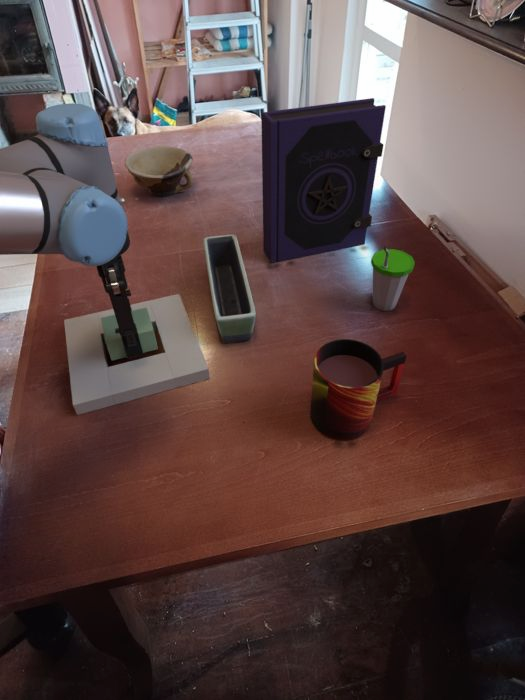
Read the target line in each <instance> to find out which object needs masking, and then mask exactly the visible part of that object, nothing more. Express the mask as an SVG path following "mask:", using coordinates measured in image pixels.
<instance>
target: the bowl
mask: <svg viewBox="0 0 525 700" xmlns="http://www.w3.org/2000/svg"><path fill="white" fill-rule="evenodd" d="M192 164H193V156H192V154H191V153H190V152H189V151H188V150H186V149H184V148H181V147H177V146H170V145H156V146H155V145H154V146H151V147H150V146H149V147H144V148H141V149H138V150H136V151H133V152H131V153H130V154H128V155H127V156H126V158H124V166H125V169H127V171H128V173H129V174H131V176H132V177H133V180H134V182H136V184H138V185H139V186H141V187H142V188H144V189H145V190H148V192H149V194H151V195H152V196H154V197H158V198H159V197H160V198H164V197H170V196H172V195H174V194H177V193H181V192H185V191H188V190H189V189H190V188H191V187H192V186H193V181H194V180H193V176H192V174H191V170H190V169H191V167H192ZM183 177H184V178H185V180H186V183H184V184H183V183H181V181H182V179H183Z"/></svg>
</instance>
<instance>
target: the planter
mask: <svg viewBox="0 0 525 700" xmlns="http://www.w3.org/2000/svg"><path fill="white" fill-rule="evenodd" d="M202 241H203V249H204V256H205V262H206V263H205V264H206V269H207V270H206V271H207V276H208V283H209V288H210V289H209V290H210V294H211V301H212V307H213V313H214V319H215V321H216V322H215V323H216V326H217V328H218V331H219V335H220V337H221V340H222V342H223V343H224V344H233V343H239V342H240V343H241V342H249V341H250V340H251V339H252V336H253V333H254V328H255V323H256V317H257V316H256V315H257V313H256V308H255V303H254V300H253V294H252V291H251V288H250V283H249V279H248V276H247V271H246V267H245V263H244V260H243V256H242V252H241V248H240V244H239V241H238V237H237V235H236V234H224V235H223V234H222V235H213V236H205V237H204V238H203V240H202Z"/></svg>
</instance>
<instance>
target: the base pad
mask: <svg viewBox="0 0 525 700" xmlns="http://www.w3.org/2000/svg"><path fill="white" fill-rule="evenodd" d="M130 306H131V309H132V311H133V310H137V309H142V308H146V307H147V310H148V313H149V317H150V320H151V323H152V326H153V330H154V332H157V333H158V337H159V340H160V343H161V346H162V349H163V352H161V353H157V354H153V355H150V356H146V357H142V358H139V359H135V360H131V361H127V362H122V363H118V364H115V365H110V366H109V364H108V358H107V352H106V347H105V345H106V342H105V338H104V332H103V327H102V322H101V318H102V317H107V316H111V315H115V313H114V310H113V308H110V309H106V310H102V311H98V312H92V313H88V314H85V315H80V316H79V315H78V316H75V317H71V318H67V319H64V320H63V325H64V332H65V333H64V334H65V342H66V343H65V344H66V353H67V362H68V371H69V381H70V393H71V401H72V402H71V403H72V407H73V409H74V412H75V414H76V415H77V416H79V415H83V414H87V413H90V412H93V411H97V410H101V409H105V408H108V407H111V406H115V405H119V404H123V403H127V402H131V401H134V400H138V399H142V398H144V397H148V396H152V395H156V394H159V393H163V392H166V391H171V390H174V389H178V388H181V387H185V386H188V385H192V384H195V383H200V382H203V381H206V380H210V379H211V376H210V375H211V374H210V369H209V366H208V363H207V361H206V359H205V356H204V354H203V351H202V349H201V345H200V343H199V341H198V339H197V336H196V334H195V333H196V332H195V330H194V328H193V325H192V323H191V321H190V318H189V316H188V313H187V310H186V308H185V305H184V303H183V301H182V297H181V295H180V293H177V294H171V295H167V296H163V297H159V298H155V299H150V300H146V301H141V302H136V303H133V304H130Z"/></svg>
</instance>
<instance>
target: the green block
mask: <svg viewBox="0 0 525 700" xmlns="http://www.w3.org/2000/svg"><path fill="white" fill-rule="evenodd" d="M131 313H132V316H133V320H134V323H135V324H136V328H137V332H138V335H139V339H140V343H141V347H142V350H143V354H145V353H147V352H152V351H156V350H158V349H159V347H158V343H157V339H156V334H155V331H154V330H153V326H152V323H151V320H150V317H149V313H148V310H147V307H146V308H142V309H137V310H133V311H131ZM101 322H102V327H103V332H104V338H105V342H106V343H105V345H106V349H107V351H108V354H109V357H110V360H111V362H112V361H116V360H120V359H124V358H128V357H127V354H126V351H125V347H124V344H123V341H122V338H121V335H120V333H117V334H116V332H115V329H116V328H119V327H118V323H117V320H116V317H115V315H111V316H107V317H102V318H101Z"/></svg>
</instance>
